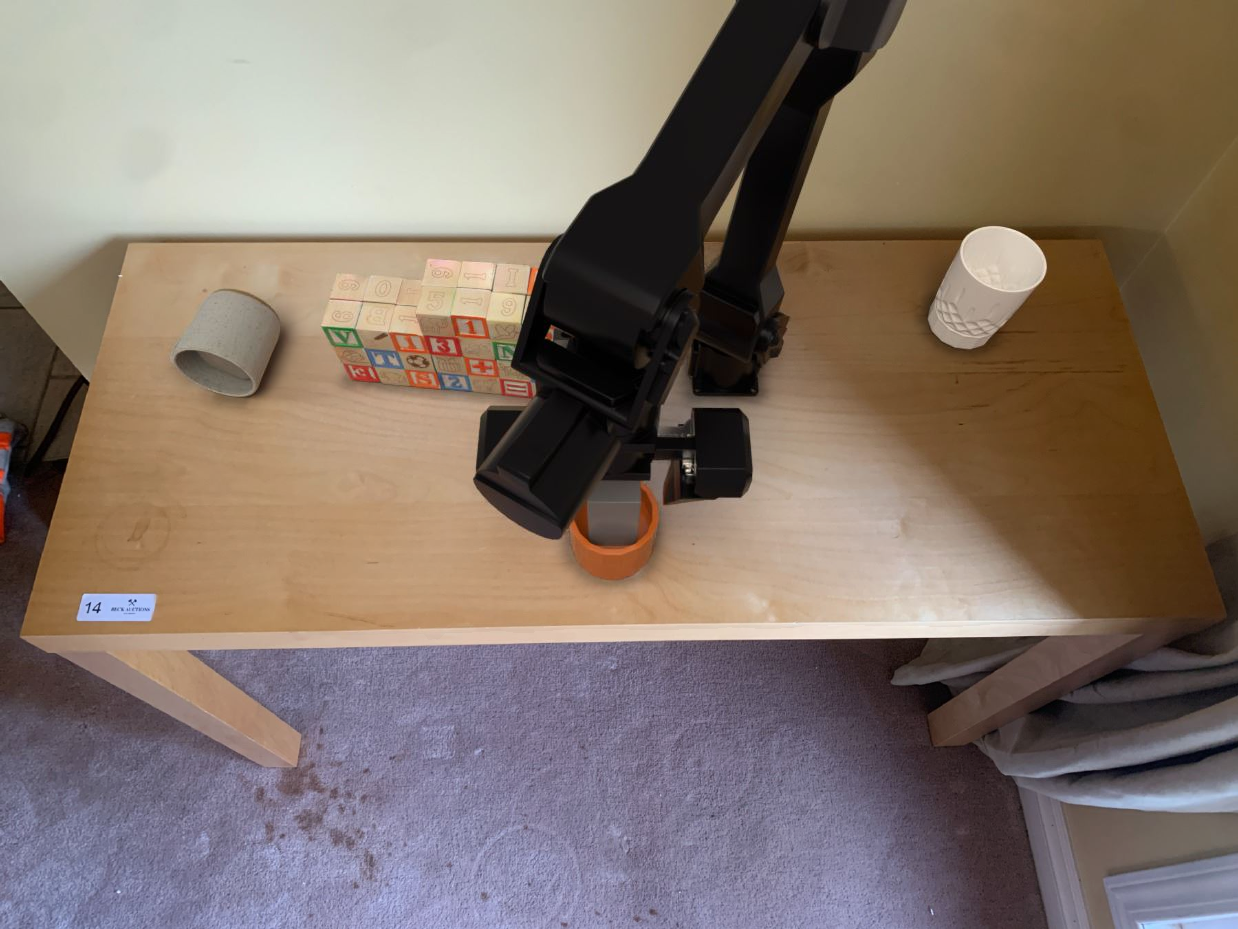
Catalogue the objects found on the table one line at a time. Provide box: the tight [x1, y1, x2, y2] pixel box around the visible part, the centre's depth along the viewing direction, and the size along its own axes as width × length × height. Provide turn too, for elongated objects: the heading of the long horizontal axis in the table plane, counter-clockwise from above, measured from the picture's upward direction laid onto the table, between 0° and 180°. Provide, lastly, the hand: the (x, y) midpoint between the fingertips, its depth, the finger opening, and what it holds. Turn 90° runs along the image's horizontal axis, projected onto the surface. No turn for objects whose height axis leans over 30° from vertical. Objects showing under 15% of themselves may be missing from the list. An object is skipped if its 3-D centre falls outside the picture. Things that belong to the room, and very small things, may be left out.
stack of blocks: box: [320, 258, 555, 399], centre depth 73 cm, size 21×6×12 cm, turn 85°
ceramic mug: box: [169, 288, 282, 398], centre depth 74 cm, size 11×8×8 cm
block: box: [587, 481, 641, 545], centre depth 62 cm, size 4×4×9 cm
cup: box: [568, 481, 659, 581], centre depth 67 cm, size 7×7×6 cm
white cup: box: [927, 225, 1048, 350], centre depth 77 cm, size 8×8×10 cm
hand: (613, 499), depth 62 cm, fingers open, 8 cm apart
